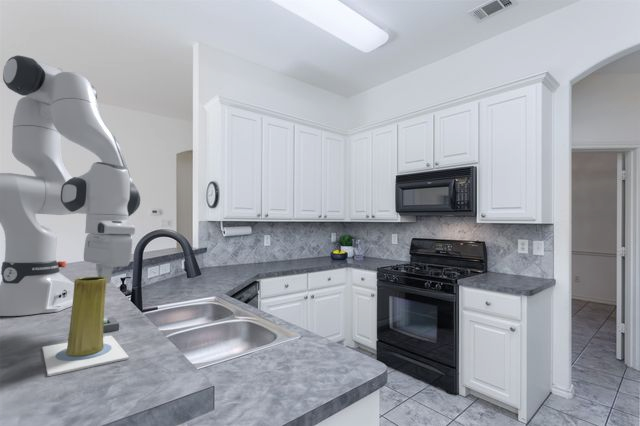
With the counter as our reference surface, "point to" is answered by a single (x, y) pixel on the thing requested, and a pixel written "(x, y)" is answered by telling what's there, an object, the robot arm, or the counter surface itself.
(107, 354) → the paper pad
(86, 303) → the vase
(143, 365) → the counter surface
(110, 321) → the button collar
